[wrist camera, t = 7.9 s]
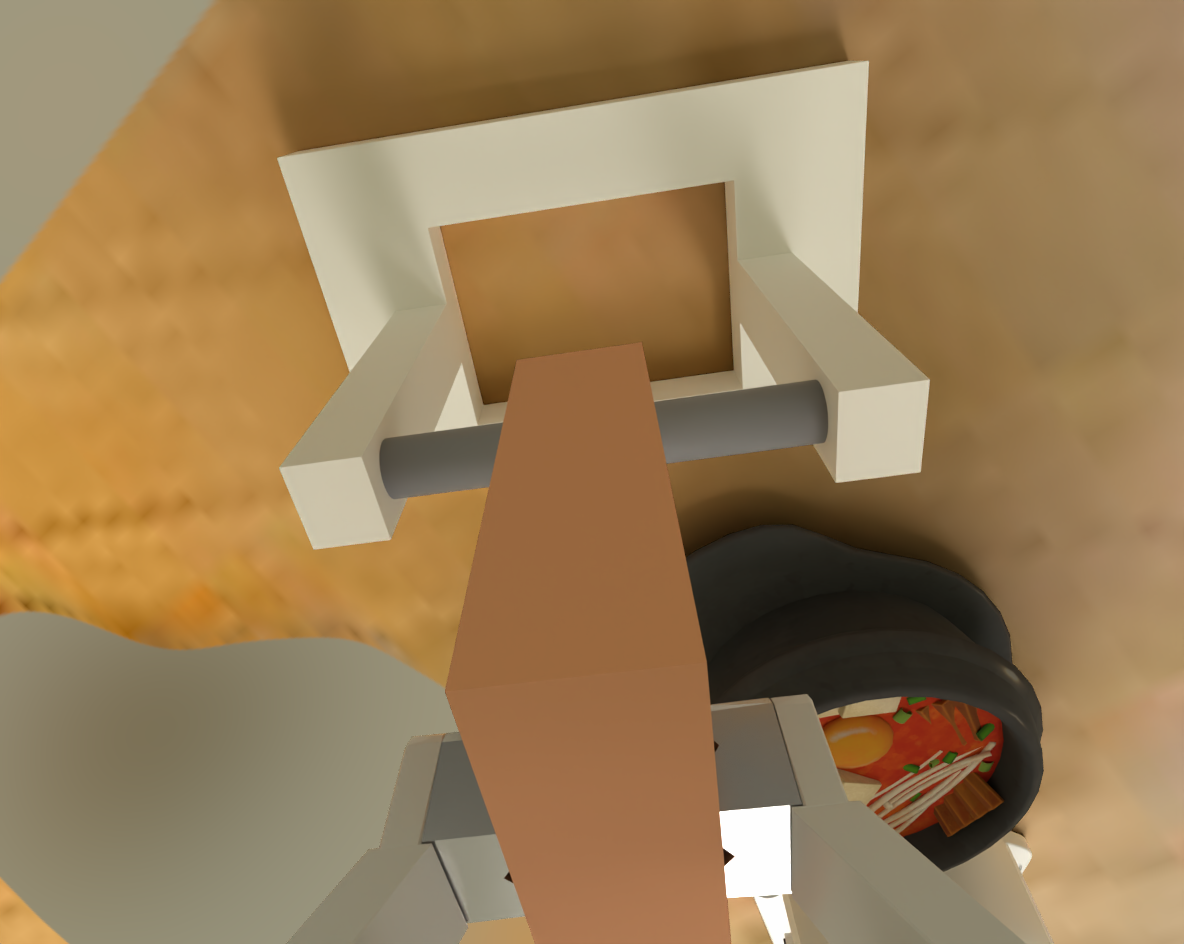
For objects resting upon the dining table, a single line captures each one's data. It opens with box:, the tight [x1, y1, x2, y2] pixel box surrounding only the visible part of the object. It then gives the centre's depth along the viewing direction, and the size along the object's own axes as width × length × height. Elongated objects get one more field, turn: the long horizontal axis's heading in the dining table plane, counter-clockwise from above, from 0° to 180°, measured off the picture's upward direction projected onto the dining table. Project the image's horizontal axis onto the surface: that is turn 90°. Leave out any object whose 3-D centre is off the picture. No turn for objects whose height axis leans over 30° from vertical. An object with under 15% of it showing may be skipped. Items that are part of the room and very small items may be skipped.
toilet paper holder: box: [277, 61, 930, 550], centre depth 23 cm, size 20×14×14 cm
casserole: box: [686, 524, 1044, 872], centre depth 36 cm, size 25×19×8 cm
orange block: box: [445, 342, 731, 944], centre depth 12 cm, size 6×2×8 cm, turn 8°
